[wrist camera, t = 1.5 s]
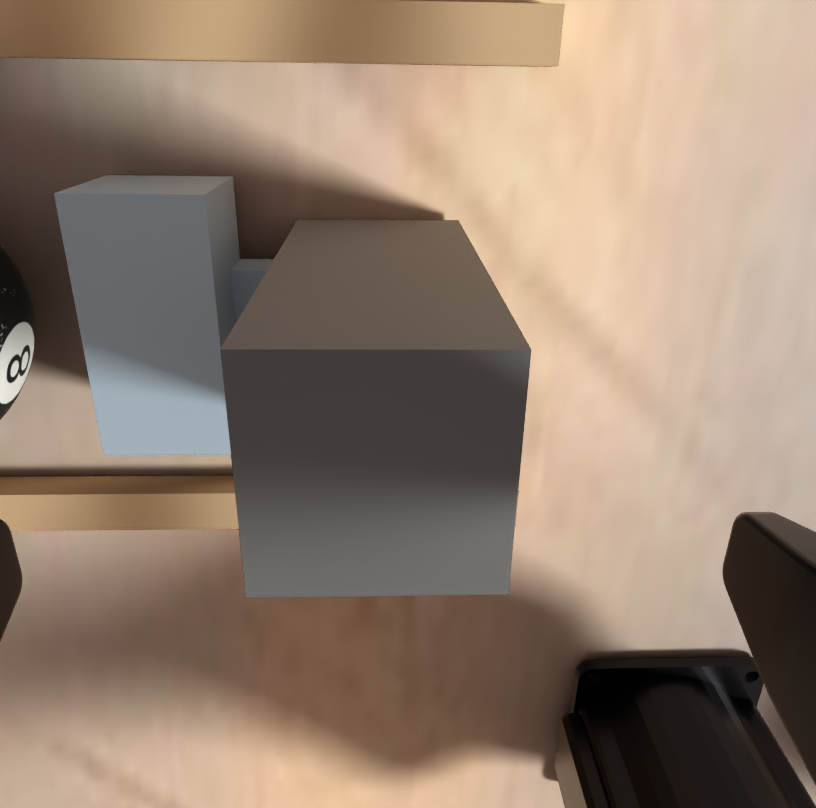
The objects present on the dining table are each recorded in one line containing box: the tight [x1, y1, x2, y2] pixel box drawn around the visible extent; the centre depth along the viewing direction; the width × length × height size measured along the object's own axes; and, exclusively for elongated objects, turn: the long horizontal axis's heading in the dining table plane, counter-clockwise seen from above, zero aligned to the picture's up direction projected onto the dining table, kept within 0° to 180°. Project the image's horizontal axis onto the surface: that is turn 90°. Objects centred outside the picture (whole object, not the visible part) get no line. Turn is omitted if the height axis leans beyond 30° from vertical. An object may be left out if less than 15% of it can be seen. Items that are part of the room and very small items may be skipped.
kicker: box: [54, 175, 531, 598], centre depth 14 cm, size 8×6×9 cm
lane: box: [0, 0, 564, 531], centre depth 18 cm, size 20×13×1 cm, turn 89°
